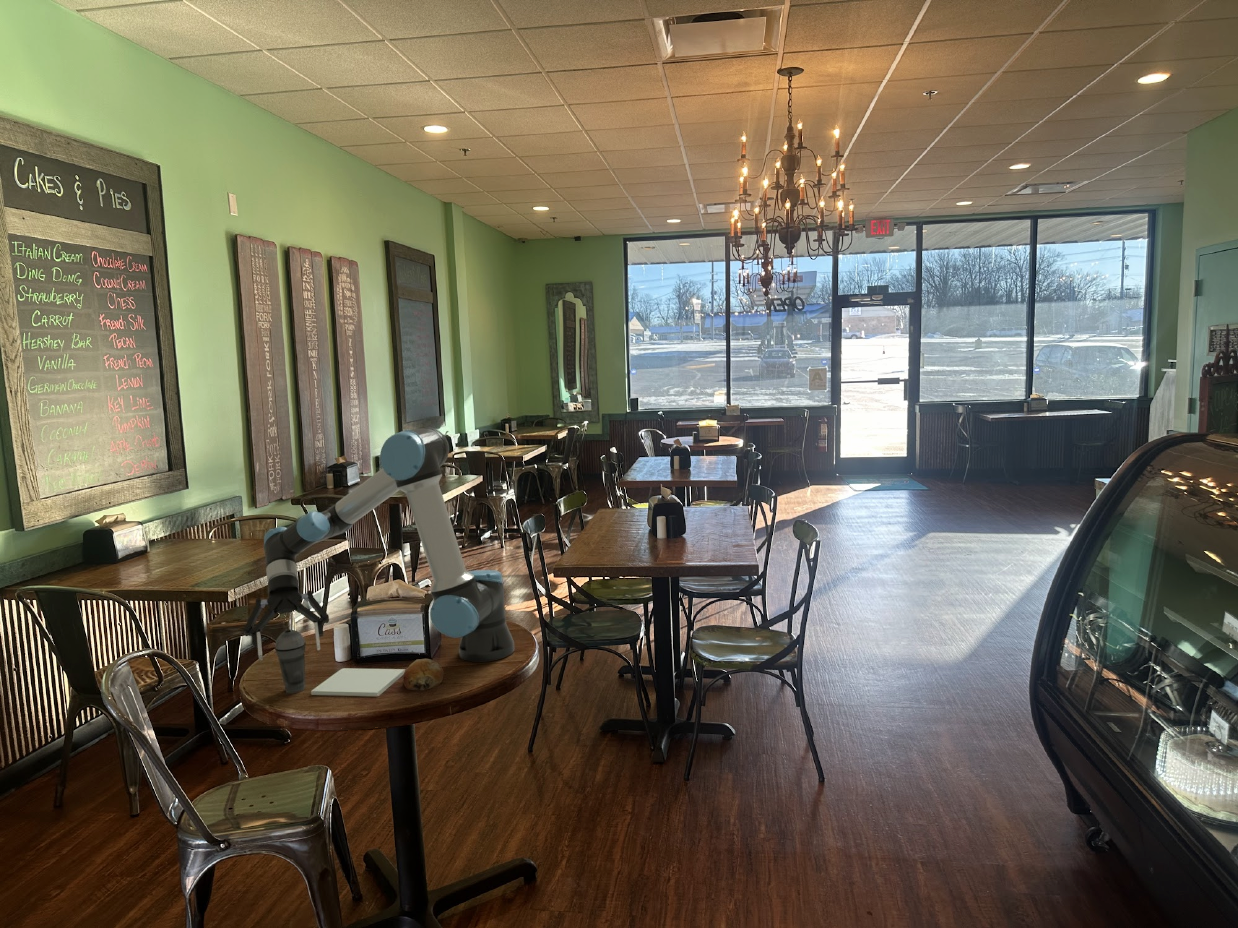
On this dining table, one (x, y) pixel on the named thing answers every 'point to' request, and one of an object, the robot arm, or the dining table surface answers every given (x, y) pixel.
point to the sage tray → (358, 682)
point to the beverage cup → (291, 659)
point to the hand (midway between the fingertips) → (289, 652)
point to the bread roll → (423, 675)
